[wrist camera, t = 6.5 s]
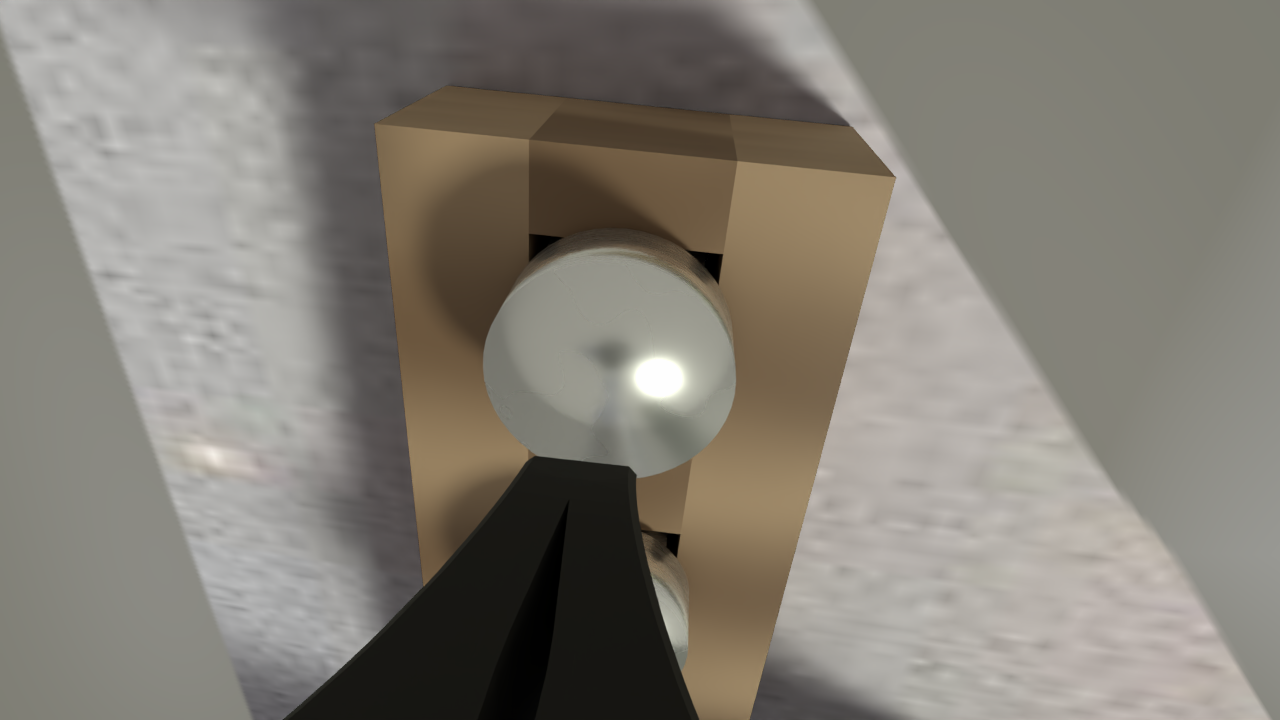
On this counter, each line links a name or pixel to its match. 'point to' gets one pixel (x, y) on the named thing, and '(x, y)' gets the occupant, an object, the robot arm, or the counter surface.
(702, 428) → the knob
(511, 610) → the robot arm
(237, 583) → the counter surface
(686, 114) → the block
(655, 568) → the middle knob
